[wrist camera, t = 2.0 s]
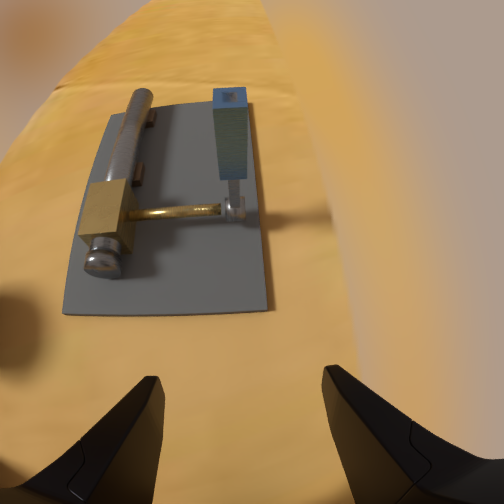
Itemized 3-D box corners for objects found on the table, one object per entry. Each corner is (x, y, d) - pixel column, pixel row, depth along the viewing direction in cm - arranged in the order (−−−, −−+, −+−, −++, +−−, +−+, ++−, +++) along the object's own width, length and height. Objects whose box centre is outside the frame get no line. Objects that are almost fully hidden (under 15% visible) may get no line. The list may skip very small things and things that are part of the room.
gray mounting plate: (267, 311, 23) (267, 309, 23) (65, 315, 22) (62, 313, 22) (247, 103, 34) (247, 99, 34) (112, 118, 34) (111, 115, 33)
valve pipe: (224, 275, 24) (220, 254, 20) (94, 281, 23) (72, 262, 20) (221, 100, 34) (219, 74, 30) (133, 110, 33) (125, 87, 30)
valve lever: (247, 225, 25) (247, 107, 14) (225, 226, 25) (212, 108, 14) (245, 205, 26) (245, 87, 15) (224, 206, 26) (213, 88, 15)
